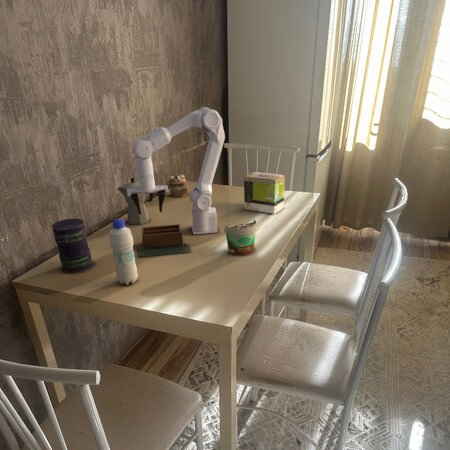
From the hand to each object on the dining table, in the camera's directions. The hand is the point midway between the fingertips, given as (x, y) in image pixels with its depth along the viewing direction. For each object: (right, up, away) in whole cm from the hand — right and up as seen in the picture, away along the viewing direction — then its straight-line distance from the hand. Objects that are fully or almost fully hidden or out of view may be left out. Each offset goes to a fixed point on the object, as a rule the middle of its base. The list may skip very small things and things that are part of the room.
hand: (150, 212), depth 153 cm
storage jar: (-22, -21, -15) cm, 34 cm away
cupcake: (+5, +20, +52) cm, 56 cm away
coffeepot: (-8, +1, +22) cm, 23 cm away
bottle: (-2, -27, -25) cm, 37 cm away
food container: (+35, -16, -10) cm, 39 cm away
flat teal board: (+6, -15, -6) cm, 17 cm away
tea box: (+45, +8, +30) cm, 55 cm away
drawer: (+5, -11, -6) cm, 14 cm away
